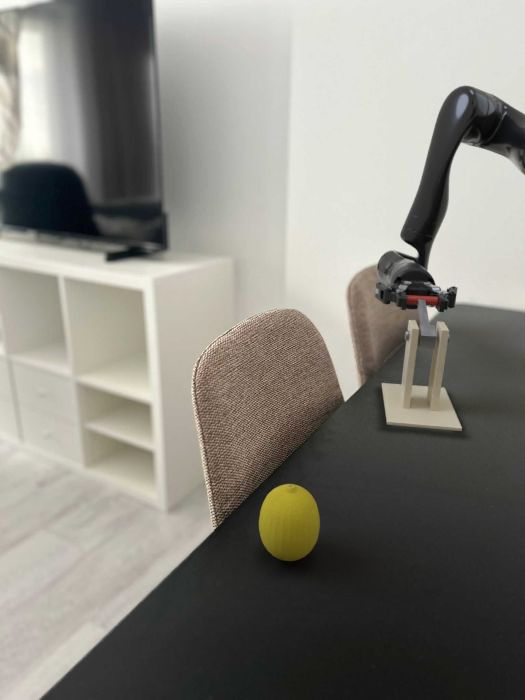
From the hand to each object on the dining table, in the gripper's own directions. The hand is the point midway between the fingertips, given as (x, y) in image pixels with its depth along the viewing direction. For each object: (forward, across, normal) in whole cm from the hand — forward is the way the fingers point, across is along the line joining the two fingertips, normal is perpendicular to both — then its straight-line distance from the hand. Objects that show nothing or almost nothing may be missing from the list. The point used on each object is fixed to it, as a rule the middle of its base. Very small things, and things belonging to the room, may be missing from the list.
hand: (423, 304), depth 79 cm
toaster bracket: (+7, 0, +15) cm, 17 cm away
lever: (+2, 0, +3) cm, 3 cm away
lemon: (+41, -16, +16) cm, 47 cm away
